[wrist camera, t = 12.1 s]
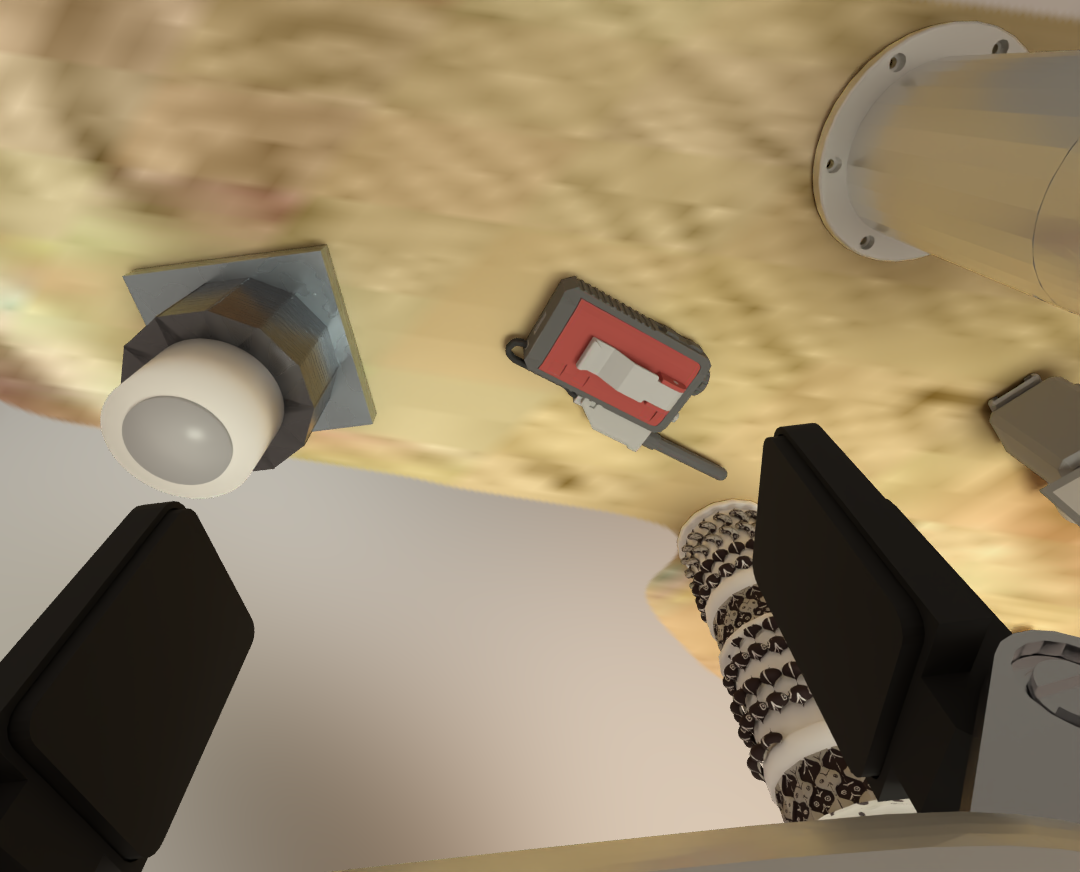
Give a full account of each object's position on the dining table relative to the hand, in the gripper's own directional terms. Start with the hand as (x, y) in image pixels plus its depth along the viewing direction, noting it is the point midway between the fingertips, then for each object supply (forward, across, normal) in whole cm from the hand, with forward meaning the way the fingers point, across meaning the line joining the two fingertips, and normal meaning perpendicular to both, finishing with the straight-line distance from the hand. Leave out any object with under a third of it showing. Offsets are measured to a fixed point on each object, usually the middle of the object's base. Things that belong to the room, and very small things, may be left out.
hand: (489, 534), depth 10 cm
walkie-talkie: (+31, -8, +13) cm, 35 cm away
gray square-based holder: (+30, +17, +7) cm, 35 cm away
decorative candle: (+31, -15, +29) cm, 45 cm away
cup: (+26, +17, +7) cm, 32 cm away
